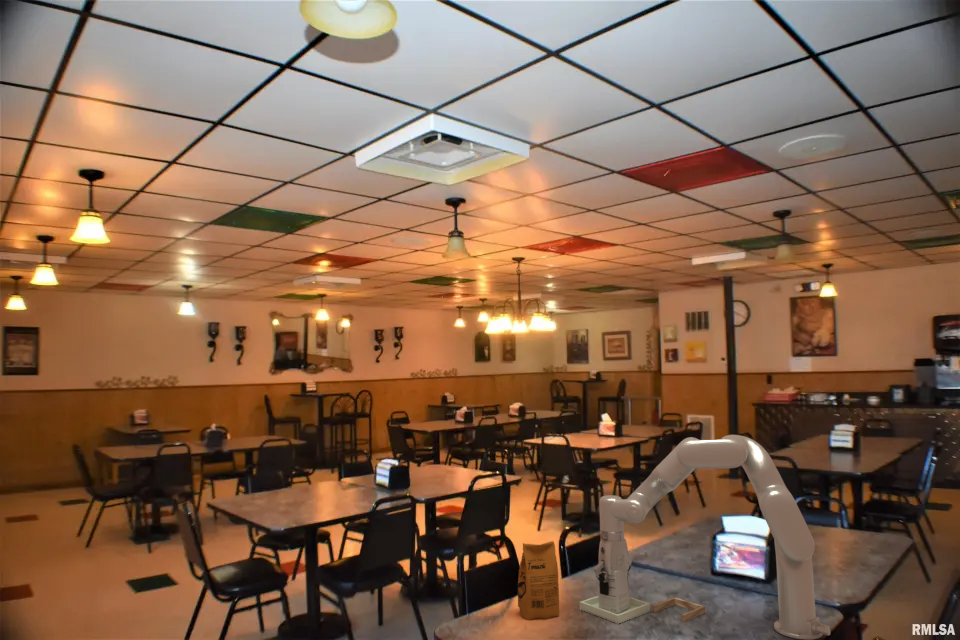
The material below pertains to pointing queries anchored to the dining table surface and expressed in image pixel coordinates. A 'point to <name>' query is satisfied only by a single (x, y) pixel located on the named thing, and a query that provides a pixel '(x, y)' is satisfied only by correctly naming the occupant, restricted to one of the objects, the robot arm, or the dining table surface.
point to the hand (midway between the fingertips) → (614, 590)
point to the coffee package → (538, 582)
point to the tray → (631, 612)
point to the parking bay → (694, 608)
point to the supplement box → (615, 593)
